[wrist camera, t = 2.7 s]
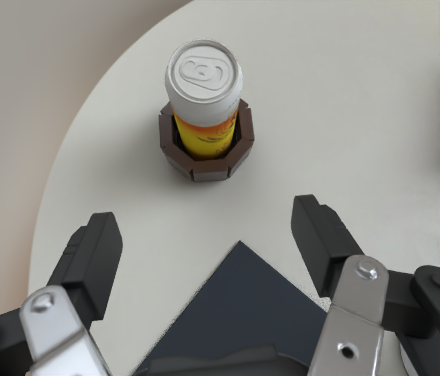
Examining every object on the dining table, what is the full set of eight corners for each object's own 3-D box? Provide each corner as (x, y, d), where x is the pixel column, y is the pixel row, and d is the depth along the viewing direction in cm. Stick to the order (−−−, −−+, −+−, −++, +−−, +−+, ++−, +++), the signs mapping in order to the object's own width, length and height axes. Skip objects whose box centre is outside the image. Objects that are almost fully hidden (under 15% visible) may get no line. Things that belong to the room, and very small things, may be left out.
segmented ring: (212, 198, 34) (212, 192, 29) (149, 145, 35) (139, 132, 30) (264, 136, 35) (271, 122, 31) (202, 88, 36) (201, 67, 32)
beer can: (225, 169, 34) (234, 116, 20) (177, 158, 35) (152, 97, 20) (235, 124, 36) (252, 43, 21) (189, 114, 36) (174, 26, 21)
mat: (239, 495, 28) (239, 499, 28) (123, 386, 30) (122, 388, 29) (349, 331, 31) (350, 332, 31) (239, 240, 33) (240, 240, 33)
